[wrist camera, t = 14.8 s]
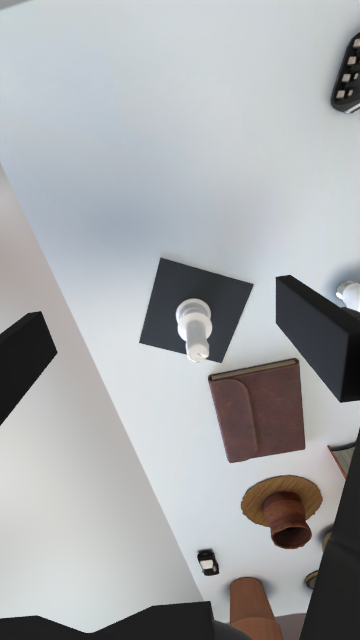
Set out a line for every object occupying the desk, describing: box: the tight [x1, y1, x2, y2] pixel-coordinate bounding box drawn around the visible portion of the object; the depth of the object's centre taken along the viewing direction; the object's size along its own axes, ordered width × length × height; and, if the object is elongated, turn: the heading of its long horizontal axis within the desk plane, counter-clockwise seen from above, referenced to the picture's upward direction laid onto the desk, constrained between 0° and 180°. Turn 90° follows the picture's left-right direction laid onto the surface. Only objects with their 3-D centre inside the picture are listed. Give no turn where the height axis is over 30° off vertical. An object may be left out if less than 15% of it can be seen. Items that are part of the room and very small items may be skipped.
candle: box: [176, 299, 212, 363], centre depth 35 cm, size 5×5×12 cm
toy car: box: [197, 552, 219, 576], centre depth 67 cm, size 10×4×3 cm, turn 15°
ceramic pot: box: [241, 475, 323, 549], centre depth 56 cm, size 18×18×7 cm
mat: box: [139, 258, 253, 363], centre depth 41 cm, size 14×14×1 cm
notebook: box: [208, 358, 305, 463], centre depth 47 cm, size 15×20×2 cm
